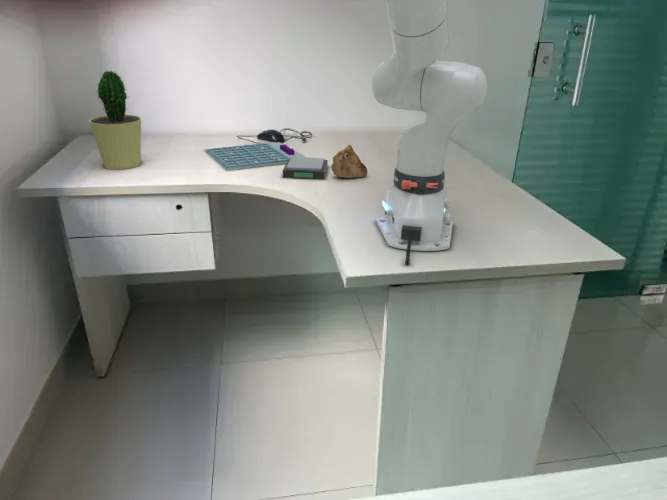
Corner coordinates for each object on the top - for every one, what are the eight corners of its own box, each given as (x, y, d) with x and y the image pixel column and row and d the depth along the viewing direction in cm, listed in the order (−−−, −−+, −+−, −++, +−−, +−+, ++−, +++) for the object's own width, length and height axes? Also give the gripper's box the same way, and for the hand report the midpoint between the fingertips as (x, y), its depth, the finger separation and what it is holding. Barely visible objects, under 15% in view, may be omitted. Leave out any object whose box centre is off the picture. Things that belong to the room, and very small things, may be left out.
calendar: (205, 150, 191) (204, 143, 190) (278, 143, 203) (278, 136, 202) (227, 171, 169) (226, 163, 168) (307, 161, 181) (307, 154, 180)
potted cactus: (94, 161, 175) (78, 66, 163) (142, 156, 182) (130, 65, 169) (99, 173, 163) (81, 72, 150) (150, 168, 170) (137, 71, 157)
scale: (324, 179, 163) (324, 169, 161) (282, 178, 163) (282, 168, 162) (327, 166, 176) (327, 157, 174) (289, 165, 176) (289, 155, 175)
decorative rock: (336, 182, 160) (337, 147, 156) (327, 176, 165) (328, 143, 161) (369, 177, 166) (371, 144, 161) (360, 172, 170) (361, 139, 166)
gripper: (396, 11, 151) (392, 62, 157) (399, 13, 133) (395, 70, 139) (418, 12, 151) (413, 62, 157) (424, 14, 132) (419, 71, 138)
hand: (405, 66), depth 148 cm, fingers open, 8 cm apart
